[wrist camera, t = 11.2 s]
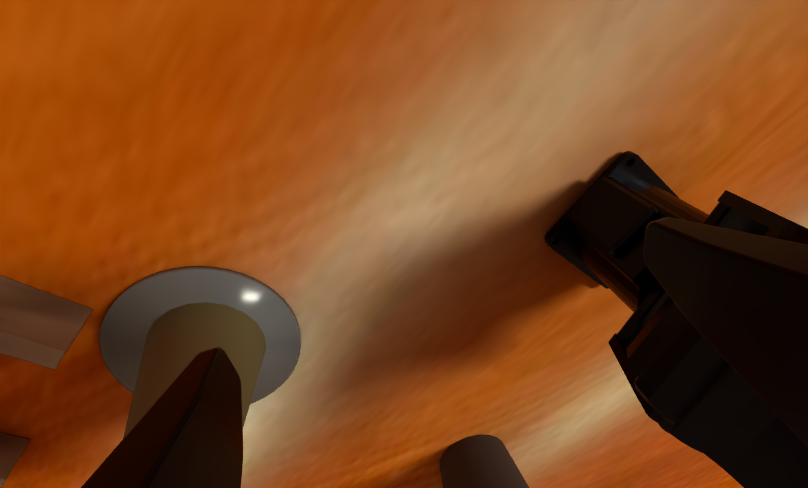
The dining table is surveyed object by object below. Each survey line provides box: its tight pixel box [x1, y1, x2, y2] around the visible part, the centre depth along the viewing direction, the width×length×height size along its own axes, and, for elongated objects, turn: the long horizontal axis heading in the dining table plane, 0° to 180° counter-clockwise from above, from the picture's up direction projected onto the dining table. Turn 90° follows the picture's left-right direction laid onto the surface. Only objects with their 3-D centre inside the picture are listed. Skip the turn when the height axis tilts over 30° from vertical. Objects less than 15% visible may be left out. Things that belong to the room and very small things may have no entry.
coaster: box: [99, 266, 301, 404], centre depth 24 cm, size 10×10×1 cm
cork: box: [123, 302, 266, 439], centre depth 19 cm, size 6×6×11 cm
